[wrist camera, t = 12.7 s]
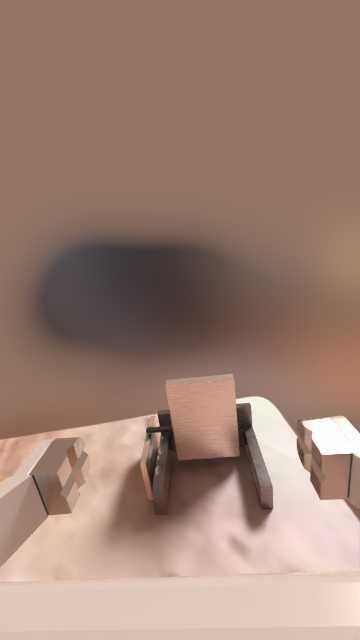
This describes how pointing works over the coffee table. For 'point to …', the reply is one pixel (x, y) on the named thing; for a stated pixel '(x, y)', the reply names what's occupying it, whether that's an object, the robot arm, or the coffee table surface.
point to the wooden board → (202, 417)
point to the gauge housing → (160, 449)
